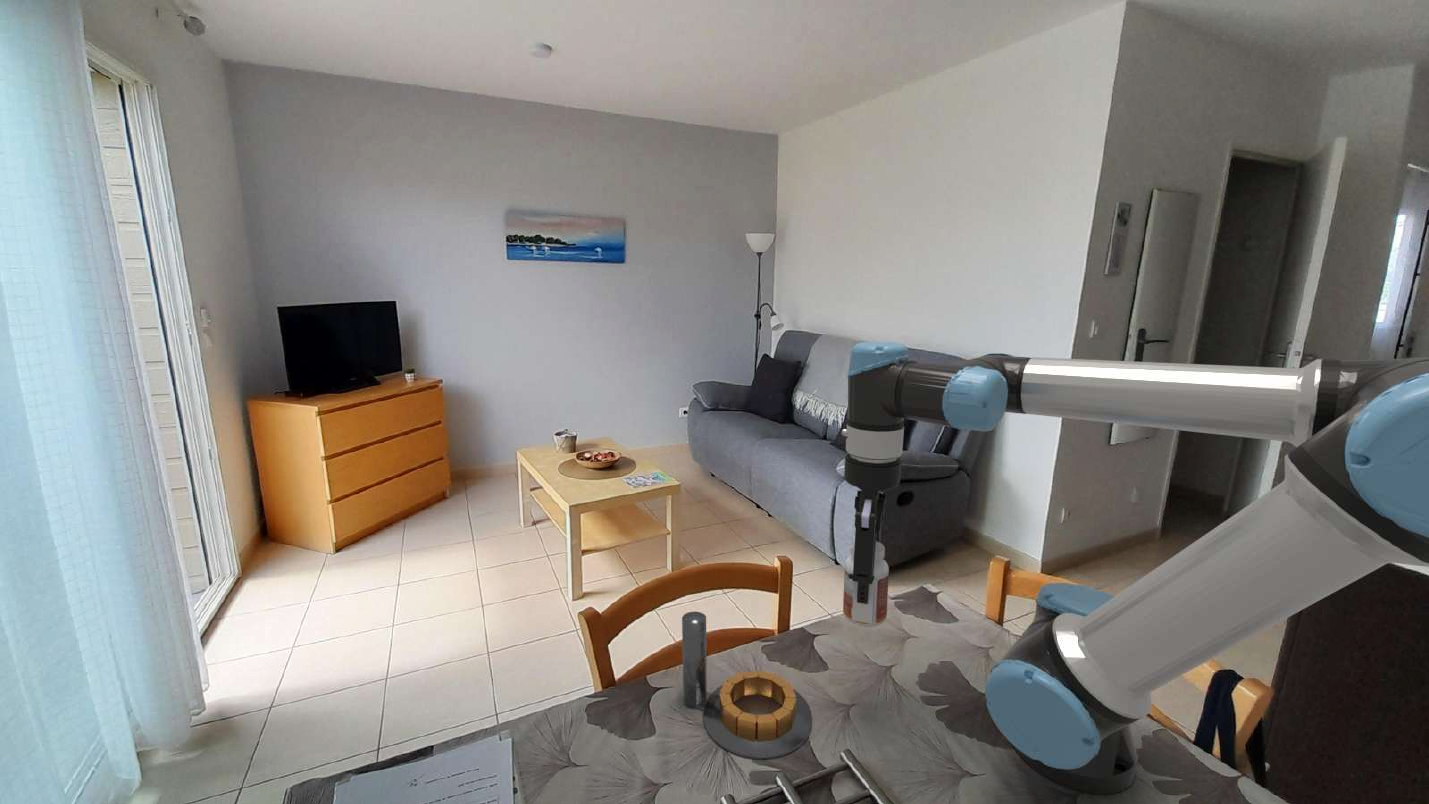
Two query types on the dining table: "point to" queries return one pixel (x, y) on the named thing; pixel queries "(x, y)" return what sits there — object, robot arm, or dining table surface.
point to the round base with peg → (743, 703)
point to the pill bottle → (879, 587)
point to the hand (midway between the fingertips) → (864, 607)
